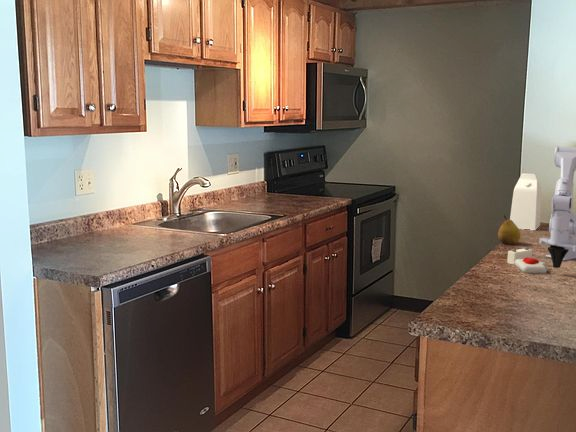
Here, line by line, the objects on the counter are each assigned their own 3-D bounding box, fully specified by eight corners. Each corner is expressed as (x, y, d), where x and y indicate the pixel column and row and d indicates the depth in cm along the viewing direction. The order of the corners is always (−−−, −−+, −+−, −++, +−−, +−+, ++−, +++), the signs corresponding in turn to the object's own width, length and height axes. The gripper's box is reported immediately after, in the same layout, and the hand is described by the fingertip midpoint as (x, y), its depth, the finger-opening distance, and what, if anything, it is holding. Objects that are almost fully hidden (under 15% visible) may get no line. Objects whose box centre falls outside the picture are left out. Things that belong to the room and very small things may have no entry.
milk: (539, 226, 311) (544, 173, 307) (534, 230, 302) (539, 175, 297) (514, 224, 318) (518, 171, 313) (508, 227, 308) (512, 173, 303)
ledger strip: (525, 259, 246) (526, 246, 245) (531, 261, 243) (532, 247, 242) (507, 262, 241) (508, 249, 240) (513, 264, 238) (514, 250, 237)
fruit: (524, 244, 272) (526, 216, 270) (506, 246, 268) (508, 218, 266) (510, 240, 280) (512, 213, 277) (493, 242, 276) (495, 214, 274)
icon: (553, 263, 225) (524, 262, 226) (552, 274, 226) (523, 274, 226) (541, 254, 237) (514, 254, 238) (540, 266, 238) (513, 265, 238)
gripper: (534, 226, 227) (531, 264, 230) (571, 234, 215) (567, 273, 218) (547, 225, 231) (544, 261, 234) (584, 232, 219) (580, 270, 221)
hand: (556, 267), depth 226 cm, fingers closed
